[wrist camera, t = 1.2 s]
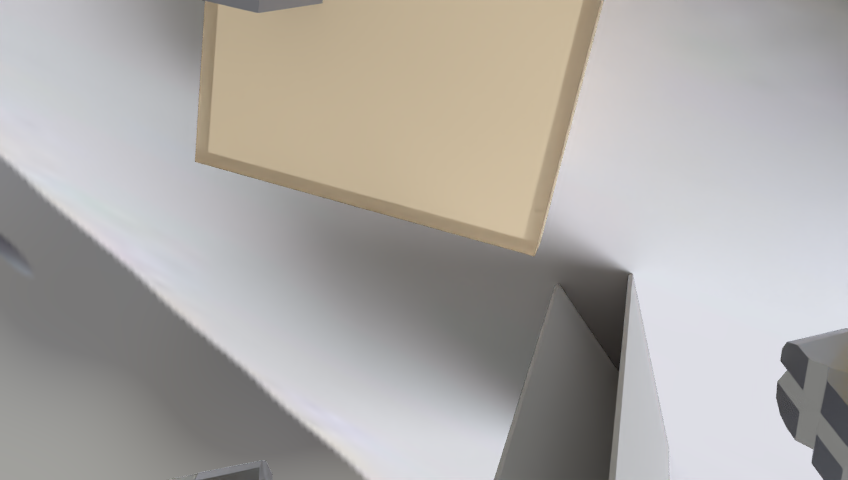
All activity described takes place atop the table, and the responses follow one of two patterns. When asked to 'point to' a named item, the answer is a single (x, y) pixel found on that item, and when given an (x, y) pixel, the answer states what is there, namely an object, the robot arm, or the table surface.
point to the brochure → (587, 405)
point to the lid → (400, 104)
